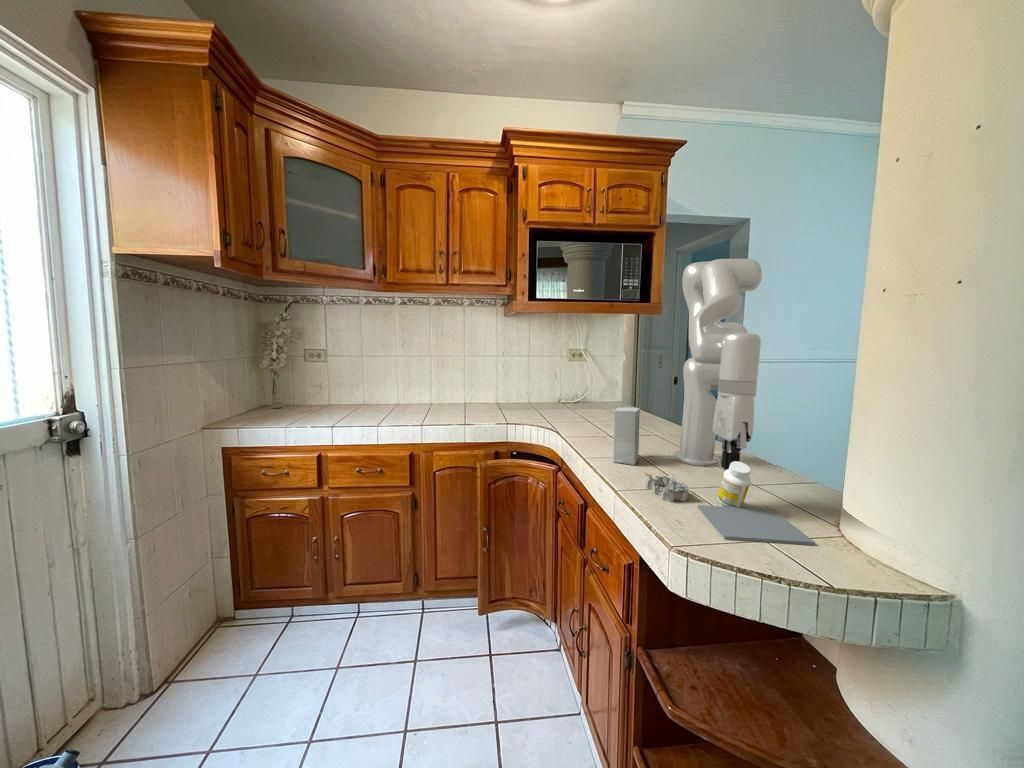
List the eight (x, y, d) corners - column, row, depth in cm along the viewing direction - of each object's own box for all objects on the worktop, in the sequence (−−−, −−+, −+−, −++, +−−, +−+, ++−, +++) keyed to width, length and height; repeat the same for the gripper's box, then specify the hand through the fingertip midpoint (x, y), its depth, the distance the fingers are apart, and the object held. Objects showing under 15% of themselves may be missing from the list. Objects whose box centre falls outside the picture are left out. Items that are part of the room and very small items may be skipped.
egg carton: (641, 486, 103) (642, 471, 103) (668, 485, 104) (669, 470, 104) (662, 503, 93) (664, 486, 93) (692, 502, 94) (693, 485, 94)
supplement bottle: (725, 510, 90) (735, 475, 86) (712, 493, 95) (721, 460, 91) (748, 508, 91) (759, 473, 87) (734, 491, 96) (744, 458, 91)
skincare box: (635, 466, 118) (638, 412, 116) (610, 462, 121) (613, 409, 119) (639, 458, 126) (642, 407, 124) (615, 454, 129) (618, 404, 127)
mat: (697, 507, 91) (698, 504, 91) (773, 512, 90) (773, 509, 90) (724, 539, 77) (725, 536, 77) (814, 545, 76) (815, 542, 76)
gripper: (706, 385, 99) (700, 459, 101) (734, 391, 85) (726, 478, 86) (738, 386, 99) (732, 461, 101) (772, 393, 84) (764, 480, 86)
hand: (729, 468), depth 93 cm, fingers closed
